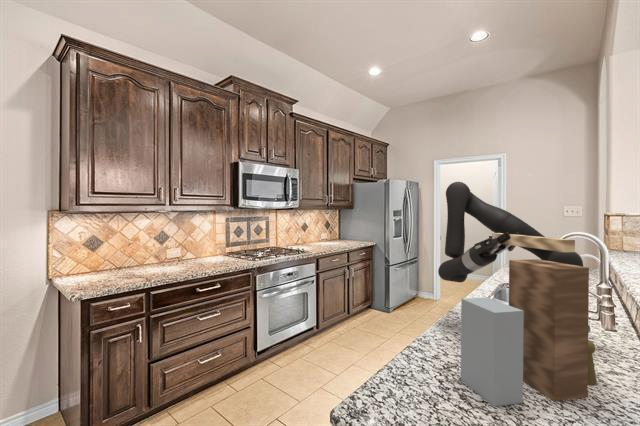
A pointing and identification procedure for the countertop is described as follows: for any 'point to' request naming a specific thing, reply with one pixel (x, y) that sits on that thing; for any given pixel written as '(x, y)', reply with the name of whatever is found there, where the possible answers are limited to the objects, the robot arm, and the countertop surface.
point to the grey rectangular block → (492, 350)
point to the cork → (591, 364)
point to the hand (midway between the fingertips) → (513, 235)
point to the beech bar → (539, 242)
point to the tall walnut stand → (553, 325)
